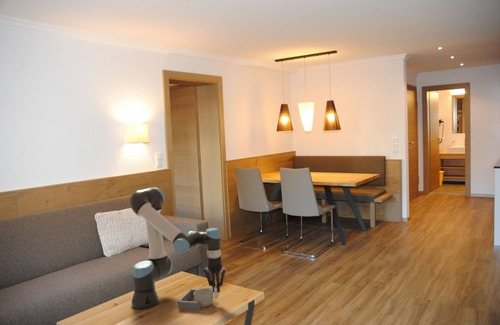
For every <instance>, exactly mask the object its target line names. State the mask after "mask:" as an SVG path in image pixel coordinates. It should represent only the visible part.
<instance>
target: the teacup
mask: <svg viewBox="0 0 500 325" xmlns="http://www.w3.org/2000/svg"><path fill="white" fill-rule="evenodd" d="M193 298H194V302H200V308H206V307H209V306H211V304H212V303H213V301H214V293H213V287H212V286H209V287H202V288H199V289H198V290H196V291H195V292H194V297H193Z"/></svg>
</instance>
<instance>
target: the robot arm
mask: <svg viewBox="0 0 500 325" xmlns="http://www.w3.org/2000/svg"><path fill="white" fill-rule="evenodd" d="M165 200H166V198H165V194H164V192H163V190H161V189H160V188H159V187H148V188H144V189H140V190H136V191H134V192H133V193H132V194H131V195H130V198H129V207H130V208H131V210H132V211H133V213H134V214H136V216H138V217H139V218H143V219H144V220H145V223H146V224H145V225H146V231H147V232H146V233H147V240H148V246H149V248H148V249H149V255H148V256H147V260H143V261H140V262H139V261H138V262H137V263H135V264H134V265H133V267H132V283H133V284H132V285H133V293H132V294H133V295H132V299H131V307H132V308H133V309H135V310H146V309H148V310H149V309H151V308H154V307H156V306H158V305H159V303H160V297H159V295H158V293H157V291H156V285H155V282H157V281H159V280H161V279H163V278H165V277H167V276H168V275H169V274H170V273H171V272H172V270H173V268H174V267H173V266H174V263H173V260H172V258H171V256H169V255H168V252H166V251H165V245H164V237H165V238H166V239H167V240H168V241H170V242H171V243H172V244H173V246H172V247H173V249H174V251H175V252H176V253H178V254H183V253H186V252H188V251H189V250H191V249H194V248H196V247H198V246H206V250H207V251H206V253H207V267H205V268H204V269H203V272H204V273H205V275H206V276H205V277H206V280H207V282H208V286H209V287H212V288H213V294H214V299H215V300H218V299H219V298H220V296H219V295H220V294H219V293H220V292H221V287H222V286H223V284H224V280H225V275H226V272H227V268H225V267H224V266H223V264H222V250H221V233H220V229H219V228H217V227H210V228H207V229H205V231H198V230H190V231H188V233H187V234H185V233H183V231H182V230H180V229H179V228H178V227H177V226H175V225H174V224H173V223H172V222H170V221H169V220H168V219H167V218H166V217H165V216H164V215H162V213H161V211H162V210H163V207H162V206H163V204H164V202H165ZM220 273H221V274H220ZM220 275H221V276H220Z"/></svg>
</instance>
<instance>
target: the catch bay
mask: <svg viewBox="0 0 500 325" xmlns="http://www.w3.org/2000/svg"><path fill="white" fill-rule="evenodd" d="M196 290H198V289H195V288H190V289H189V290H188V291H187V292H186V293H185V294H184V295H182V297H181V298H180V299H179V300H178V301H177V307H178V308H177V309H178V310H181V311H182V310H183V311H196V312H200V311H201V308H202V307H200V302H195V301H190V299H192V298H194V292H195V291H196Z"/></svg>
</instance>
